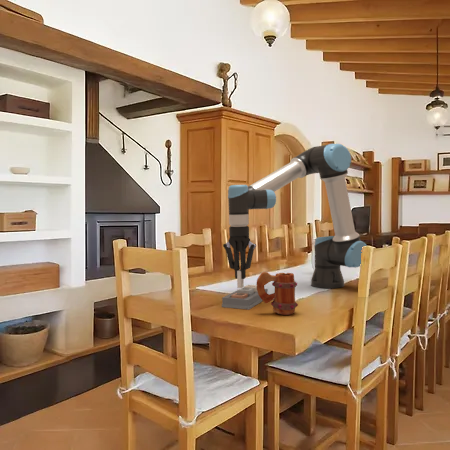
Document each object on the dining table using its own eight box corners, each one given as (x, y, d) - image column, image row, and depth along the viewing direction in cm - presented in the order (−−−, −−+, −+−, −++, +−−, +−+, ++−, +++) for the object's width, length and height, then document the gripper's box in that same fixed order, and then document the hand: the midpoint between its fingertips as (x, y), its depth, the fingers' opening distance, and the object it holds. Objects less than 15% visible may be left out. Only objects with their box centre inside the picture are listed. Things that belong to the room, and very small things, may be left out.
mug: (295, 310, 166) (295, 269, 166) (300, 316, 158) (300, 273, 157) (255, 311, 166) (255, 270, 165) (257, 316, 158) (257, 273, 157)
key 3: (247, 300, 176) (247, 293, 176) (243, 302, 172) (243, 295, 171) (236, 299, 178) (236, 292, 178) (231, 301, 174) (231, 294, 173)
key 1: (259, 291, 188) (259, 285, 188) (255, 293, 183) (255, 287, 183) (248, 290, 190) (248, 284, 190) (243, 292, 185) (243, 286, 185)
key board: (267, 297, 189) (267, 288, 188) (248, 309, 168) (248, 299, 168) (243, 295, 193) (243, 287, 193) (221, 307, 173) (221, 297, 173)
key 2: (253, 294, 182) (253, 288, 182) (249, 297, 177) (249, 290, 177) (242, 293, 184) (242, 287, 184) (237, 296, 179) (237, 289, 179)
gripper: (258, 224, 174) (260, 286, 175) (227, 224, 179) (228, 284, 181) (251, 226, 167) (253, 290, 169) (219, 226, 172) (221, 288, 174)
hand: (240, 287), depth 175 cm, fingers closed
